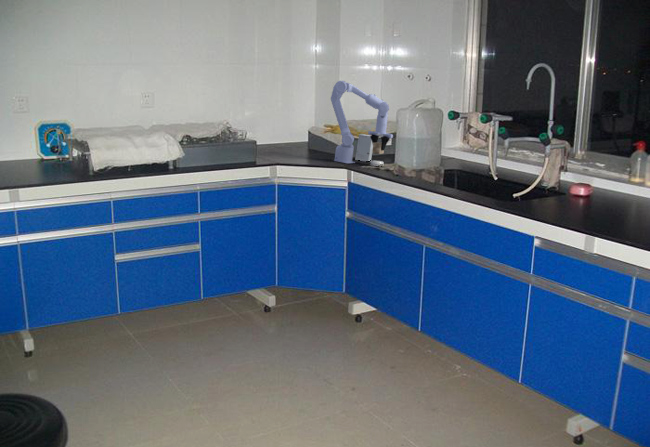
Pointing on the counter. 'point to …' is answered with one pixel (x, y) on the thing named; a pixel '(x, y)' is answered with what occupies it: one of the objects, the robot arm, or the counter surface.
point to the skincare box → (364, 148)
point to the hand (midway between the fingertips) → (378, 149)
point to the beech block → (377, 148)
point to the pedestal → (376, 163)
